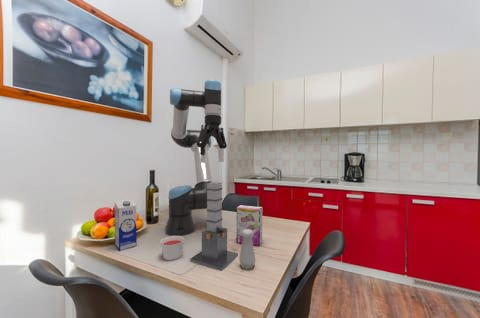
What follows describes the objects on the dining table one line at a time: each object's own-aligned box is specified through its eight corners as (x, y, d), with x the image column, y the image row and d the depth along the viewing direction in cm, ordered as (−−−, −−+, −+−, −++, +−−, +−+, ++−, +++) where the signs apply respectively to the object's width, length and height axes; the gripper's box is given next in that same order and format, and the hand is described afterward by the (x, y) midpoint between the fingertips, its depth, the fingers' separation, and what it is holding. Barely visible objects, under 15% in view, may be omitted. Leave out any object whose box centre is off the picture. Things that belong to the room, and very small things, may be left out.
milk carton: (132, 241, 94) (131, 198, 94) (137, 245, 89) (136, 200, 89) (114, 246, 89) (114, 200, 89) (118, 251, 84) (118, 203, 84)
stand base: (190, 261, 76) (189, 229, 76) (209, 248, 87) (209, 220, 87) (221, 271, 70) (221, 235, 70) (237, 255, 80) (237, 225, 80)
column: (206, 240, 77) (206, 183, 77) (213, 236, 81) (213, 181, 81) (216, 243, 75) (215, 184, 75) (222, 238, 79) (222, 182, 79)
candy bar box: (236, 243, 92) (235, 207, 92) (239, 239, 97) (239, 204, 96) (260, 246, 88) (260, 209, 88) (262, 242, 93) (262, 206, 93)
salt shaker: (238, 262, 76) (238, 227, 75) (254, 261, 76) (254, 227, 76) (240, 271, 70) (240, 233, 70) (256, 270, 70) (256, 233, 70)
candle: (165, 250, 85) (165, 235, 85) (187, 250, 85) (187, 235, 85) (156, 261, 76) (156, 245, 76) (180, 262, 76) (180, 245, 76)
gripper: (202, 109, 79) (202, 163, 80) (233, 119, 101) (233, 161, 102) (187, 111, 83) (187, 163, 83) (220, 120, 105) (221, 161, 105)
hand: (213, 162), depth 92 cm, fingers open, 13 cm apart
